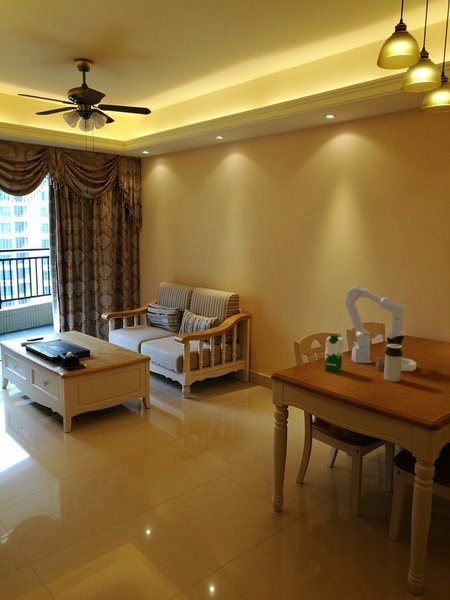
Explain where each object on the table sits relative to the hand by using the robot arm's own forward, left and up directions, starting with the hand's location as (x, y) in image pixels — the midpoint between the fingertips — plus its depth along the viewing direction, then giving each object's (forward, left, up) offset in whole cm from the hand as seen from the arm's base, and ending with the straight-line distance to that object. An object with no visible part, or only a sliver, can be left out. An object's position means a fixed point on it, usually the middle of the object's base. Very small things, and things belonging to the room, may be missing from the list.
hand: (394, 349), depth 263 cm
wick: (-12, -8, -10) cm, 17 cm away
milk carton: (-38, -9, -10) cm, 40 cm away
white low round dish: (+3, -3, -10) cm, 11 cm away
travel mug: (-12, -25, -10) cm, 30 cm away
